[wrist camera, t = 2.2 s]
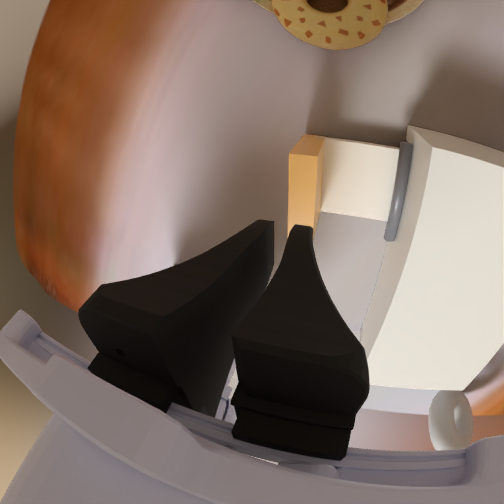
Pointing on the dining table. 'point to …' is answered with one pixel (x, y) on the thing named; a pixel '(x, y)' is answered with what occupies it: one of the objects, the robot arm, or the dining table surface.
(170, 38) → the dining table surface
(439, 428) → the donut
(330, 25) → the toy food set
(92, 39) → the dining table surface
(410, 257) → the cream rectangular block
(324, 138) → the cream block orange end
